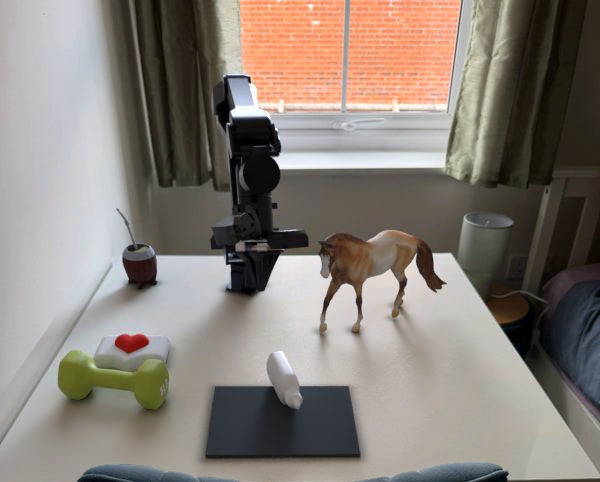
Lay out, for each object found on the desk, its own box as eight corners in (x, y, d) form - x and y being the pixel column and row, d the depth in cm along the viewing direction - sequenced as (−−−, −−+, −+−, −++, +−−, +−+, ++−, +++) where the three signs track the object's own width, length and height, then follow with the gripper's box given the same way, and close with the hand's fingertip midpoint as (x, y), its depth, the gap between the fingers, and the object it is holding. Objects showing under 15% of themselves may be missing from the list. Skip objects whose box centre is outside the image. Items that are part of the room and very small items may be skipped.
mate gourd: (155, 290, 127) (146, 221, 118) (118, 289, 127) (106, 220, 118) (162, 275, 133) (154, 208, 124) (127, 274, 133) (116, 207, 124)
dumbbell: (175, 390, 98) (171, 352, 93) (157, 419, 91) (151, 381, 87) (82, 378, 100) (73, 340, 96) (57, 405, 94) (47, 367, 89)
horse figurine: (319, 350, 109) (324, 241, 97) (296, 332, 114) (298, 226, 102) (443, 309, 123) (461, 209, 111) (417, 295, 128) (432, 198, 116)
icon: (85, 355, 98) (99, 325, 106) (90, 377, 100) (104, 346, 108) (161, 355, 98) (169, 325, 106) (164, 377, 101) (172, 346, 109)
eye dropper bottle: (295, 355, 98) (319, 396, 89) (279, 382, 100) (300, 424, 91) (272, 347, 96) (294, 388, 87) (256, 375, 98) (276, 418, 89)
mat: (215, 389, 98) (214, 386, 98) (348, 388, 99) (348, 385, 99) (205, 458, 84) (205, 455, 84) (360, 457, 85) (360, 454, 85)
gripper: (181, 200, 100) (190, 294, 105) (258, 193, 88) (265, 300, 92) (231, 200, 108) (238, 287, 112) (308, 193, 96) (312, 291, 100)
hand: (260, 291), depth 104 cm, fingers closed
